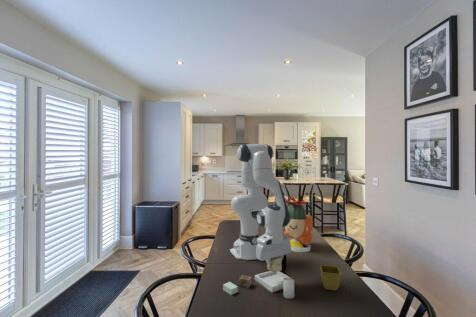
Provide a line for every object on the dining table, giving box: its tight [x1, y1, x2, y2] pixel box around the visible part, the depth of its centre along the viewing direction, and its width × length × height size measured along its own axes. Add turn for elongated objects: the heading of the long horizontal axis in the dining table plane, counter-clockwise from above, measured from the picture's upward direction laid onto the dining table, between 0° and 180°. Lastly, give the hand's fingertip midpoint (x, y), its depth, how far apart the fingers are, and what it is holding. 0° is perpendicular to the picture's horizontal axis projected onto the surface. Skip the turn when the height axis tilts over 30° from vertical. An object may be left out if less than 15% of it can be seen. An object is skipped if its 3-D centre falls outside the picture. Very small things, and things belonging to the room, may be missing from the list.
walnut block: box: [238, 274, 252, 289], centre depth 123 cm, size 5×4×4 cm
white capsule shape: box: [282, 277, 296, 300], centre depth 114 cm, size 5×5×7 cm
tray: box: [254, 270, 291, 293], centre depth 126 cm, size 14×14×2 cm
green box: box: [222, 281, 239, 296], centre depth 117 cm, size 6×4×3 cm, turn 41°
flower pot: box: [319, 264, 342, 292], centre depth 121 cm, size 9×9×9 cm
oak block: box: [266, 256, 283, 273], centre depth 126 cm, size 5×5×6 cm
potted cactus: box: [283, 196, 314, 253], centre depth 177 cm, size 22×22×35 cm
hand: (274, 265), depth 126 cm, fingers closed on oak block, 5 cm apart
